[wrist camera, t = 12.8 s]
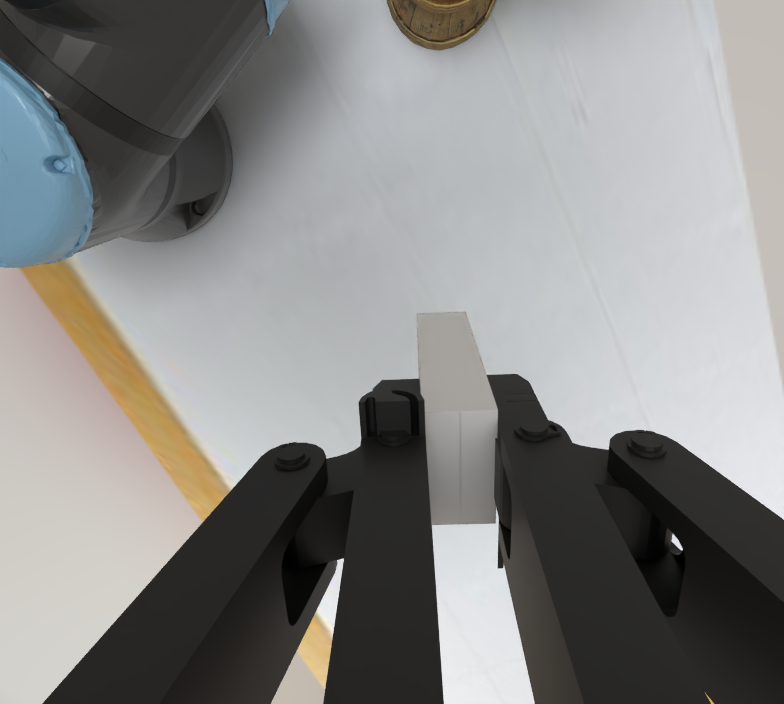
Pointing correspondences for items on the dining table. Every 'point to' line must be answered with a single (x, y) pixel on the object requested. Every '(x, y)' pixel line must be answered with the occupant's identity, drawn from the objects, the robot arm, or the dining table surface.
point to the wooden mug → (440, 20)
